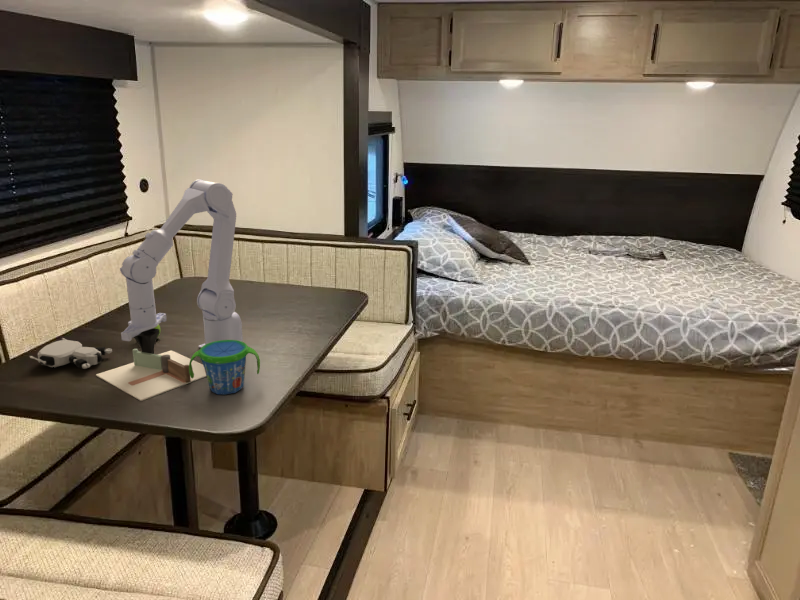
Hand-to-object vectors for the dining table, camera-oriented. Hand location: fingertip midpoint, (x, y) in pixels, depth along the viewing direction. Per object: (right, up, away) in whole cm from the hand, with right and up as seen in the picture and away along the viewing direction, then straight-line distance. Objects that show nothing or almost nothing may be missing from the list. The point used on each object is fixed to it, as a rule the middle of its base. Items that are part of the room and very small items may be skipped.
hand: (148, 357), depth 151 cm
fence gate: (0, -2, 0) cm, 2 cm away
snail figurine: (-7, +3, +18) cm, 20 cm away
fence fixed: (+9, -4, -4) cm, 10 cm away
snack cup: (+22, -6, -9) cm, 25 cm away
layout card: (+3, -4, -3) cm, 6 cm away
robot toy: (-19, -2, +2) cm, 20 cm away
